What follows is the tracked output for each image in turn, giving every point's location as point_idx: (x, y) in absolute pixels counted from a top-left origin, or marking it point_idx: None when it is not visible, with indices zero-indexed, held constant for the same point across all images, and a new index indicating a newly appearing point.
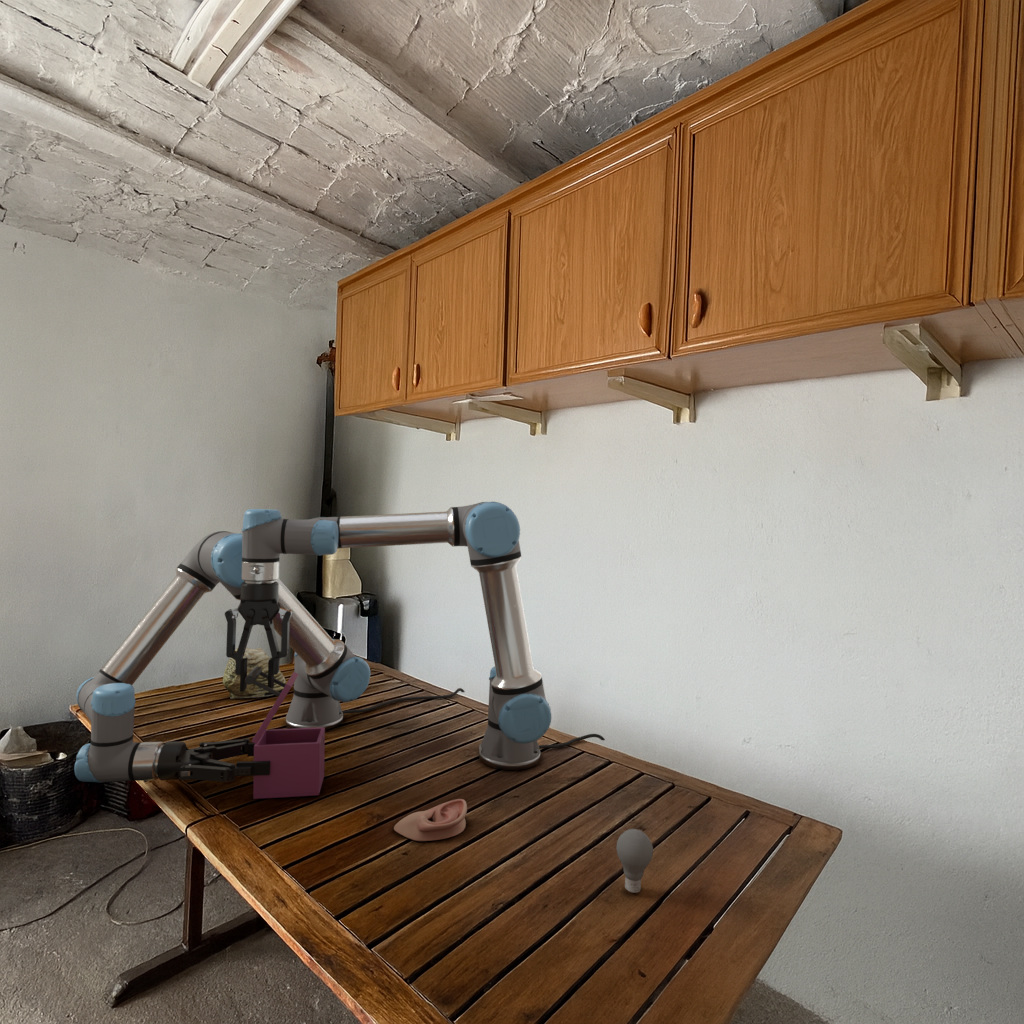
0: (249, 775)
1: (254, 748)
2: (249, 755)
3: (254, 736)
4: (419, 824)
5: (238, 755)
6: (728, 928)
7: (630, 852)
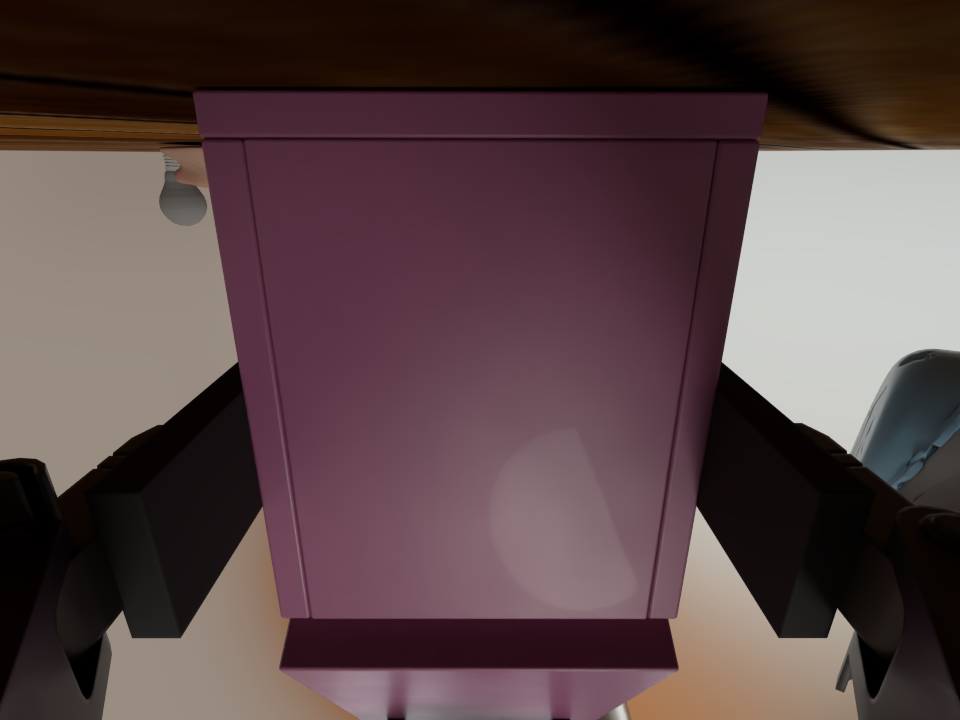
0: (184, 408)
1: (280, 599)
2: (797, 486)
3: (295, 678)
4: (185, 181)
5: (924, 623)
6: (148, 151)
7: (162, 211)
